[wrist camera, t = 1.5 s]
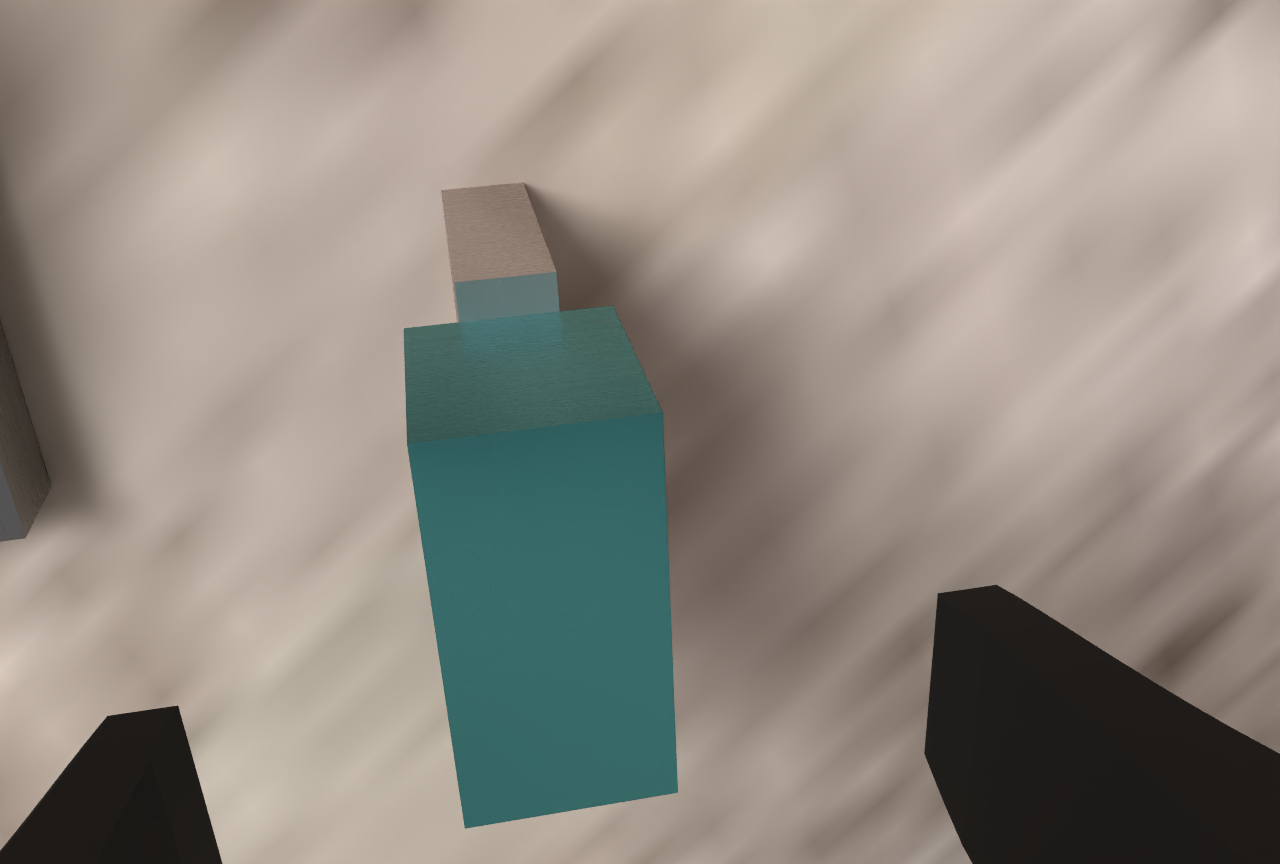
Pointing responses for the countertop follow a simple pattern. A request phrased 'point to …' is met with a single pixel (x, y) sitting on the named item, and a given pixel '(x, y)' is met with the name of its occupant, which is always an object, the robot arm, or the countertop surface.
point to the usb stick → (540, 529)
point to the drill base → (17, 456)
